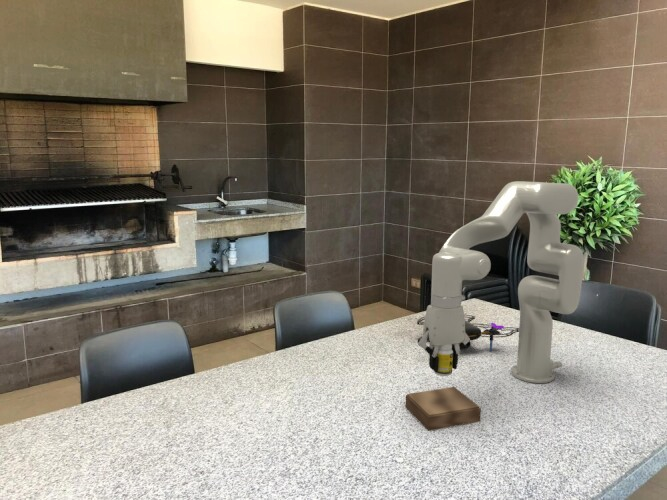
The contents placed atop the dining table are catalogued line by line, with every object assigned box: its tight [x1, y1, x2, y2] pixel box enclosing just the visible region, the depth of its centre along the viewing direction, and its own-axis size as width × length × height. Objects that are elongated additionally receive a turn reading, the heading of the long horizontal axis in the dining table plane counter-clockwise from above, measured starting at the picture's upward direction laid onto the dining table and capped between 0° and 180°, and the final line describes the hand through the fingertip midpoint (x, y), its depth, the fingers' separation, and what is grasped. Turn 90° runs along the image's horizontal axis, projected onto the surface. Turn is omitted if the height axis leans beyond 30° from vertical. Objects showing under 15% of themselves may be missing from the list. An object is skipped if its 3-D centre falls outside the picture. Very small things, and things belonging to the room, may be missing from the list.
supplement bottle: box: [433, 344, 453, 377], centre depth 136 cm, size 5×5×8 cm
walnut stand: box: [405, 386, 482, 431], centre depth 138 cm, size 15×13×4 cm
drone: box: [416, 312, 519, 352], centre depth 189 cm, size 40×10×28 cm
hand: (443, 367), depth 136 cm, fingers closed on supplement bottle, 4 cm apart
